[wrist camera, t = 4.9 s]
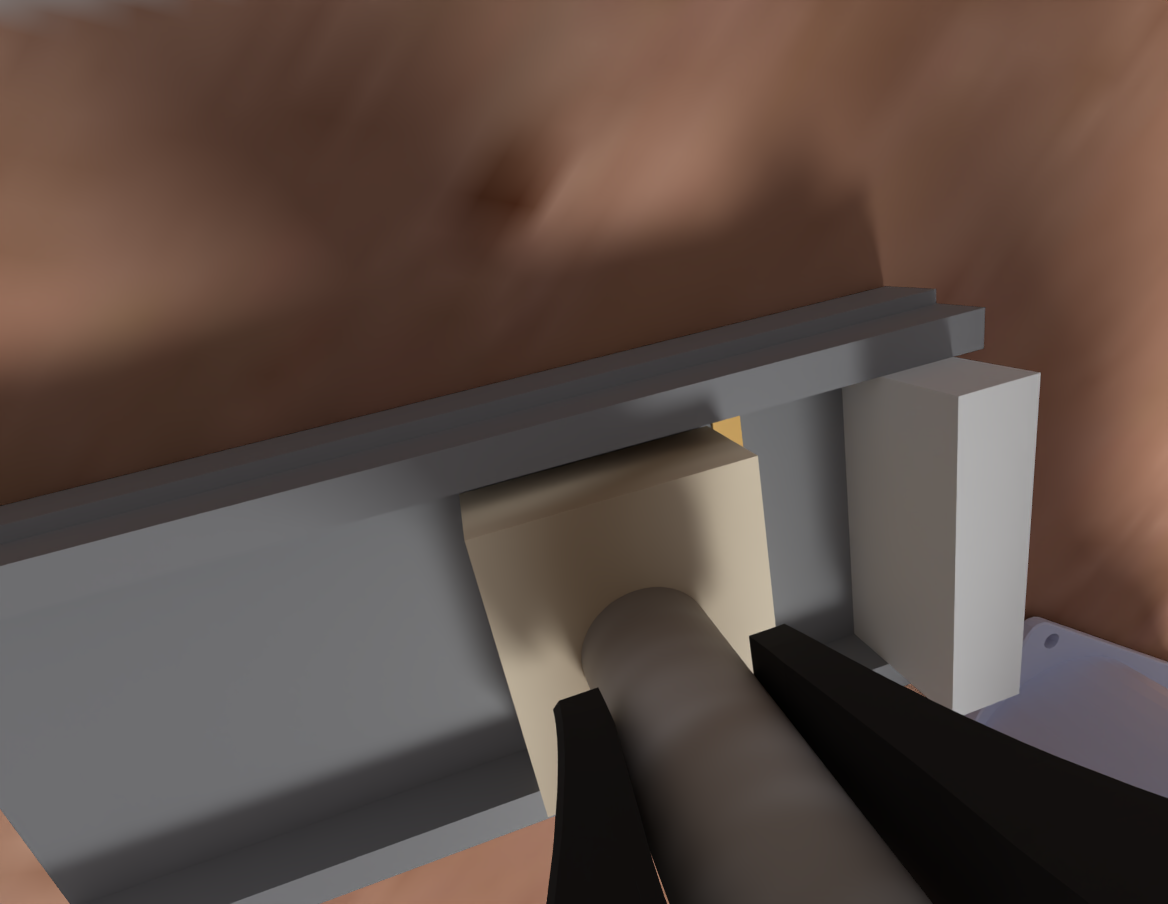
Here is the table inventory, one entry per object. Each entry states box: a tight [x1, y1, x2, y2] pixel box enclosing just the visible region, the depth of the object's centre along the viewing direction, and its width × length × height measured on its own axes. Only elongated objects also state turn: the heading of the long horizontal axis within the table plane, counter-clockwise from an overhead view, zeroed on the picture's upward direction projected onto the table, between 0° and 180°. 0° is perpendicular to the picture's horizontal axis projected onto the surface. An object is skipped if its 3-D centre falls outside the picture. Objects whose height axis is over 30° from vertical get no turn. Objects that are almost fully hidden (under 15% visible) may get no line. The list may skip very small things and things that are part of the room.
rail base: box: [0, 286, 1041, 904], centre depth 12 cm, size 20×9×4 cm, turn 102°
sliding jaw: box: [459, 426, 933, 904], centre depth 9 cm, size 5×6×8 cm
